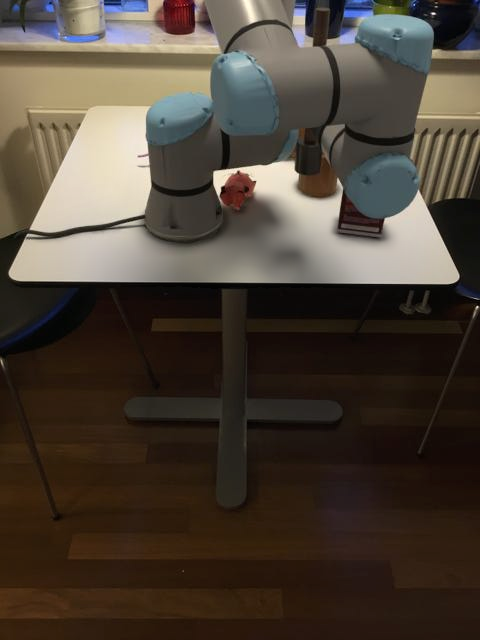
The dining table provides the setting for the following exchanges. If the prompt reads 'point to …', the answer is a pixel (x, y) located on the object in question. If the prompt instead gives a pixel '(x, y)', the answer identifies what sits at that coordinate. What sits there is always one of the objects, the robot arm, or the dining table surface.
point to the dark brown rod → (306, 146)
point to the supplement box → (357, 220)
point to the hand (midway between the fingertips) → (306, 78)
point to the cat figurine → (237, 189)
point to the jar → (319, 181)
